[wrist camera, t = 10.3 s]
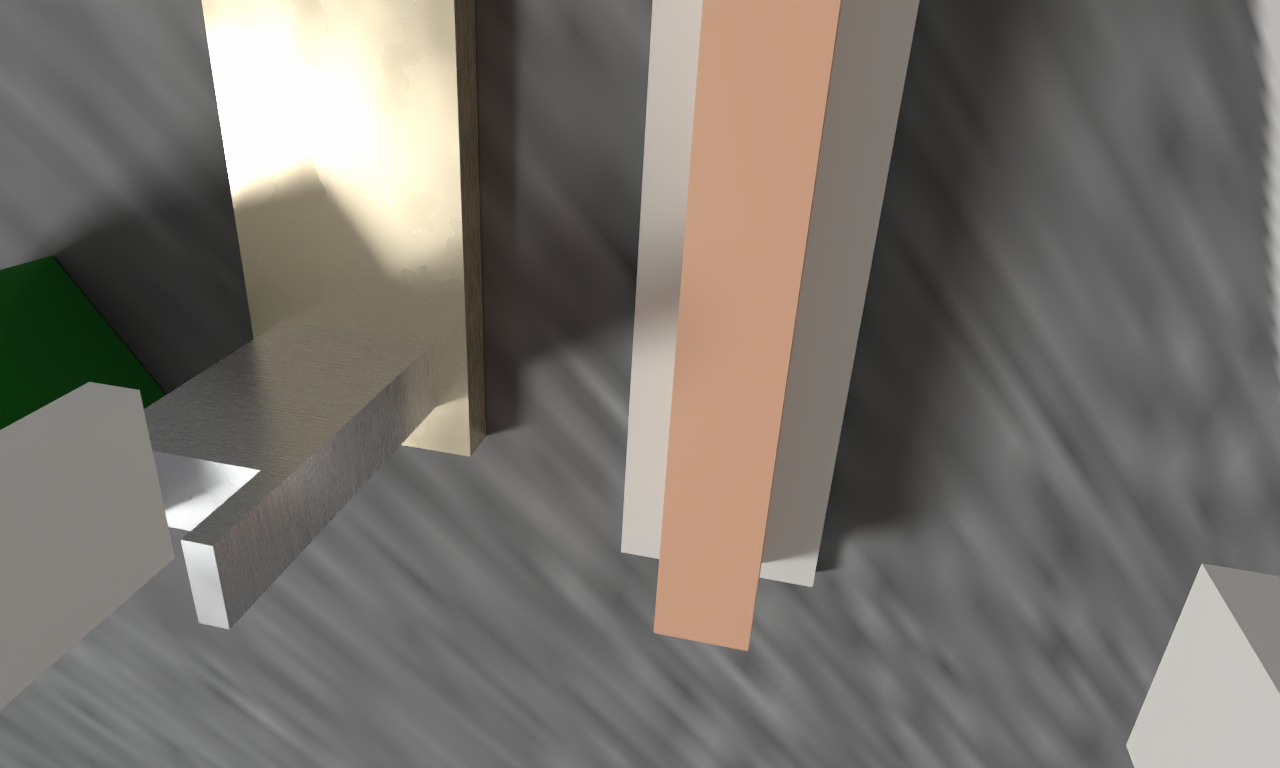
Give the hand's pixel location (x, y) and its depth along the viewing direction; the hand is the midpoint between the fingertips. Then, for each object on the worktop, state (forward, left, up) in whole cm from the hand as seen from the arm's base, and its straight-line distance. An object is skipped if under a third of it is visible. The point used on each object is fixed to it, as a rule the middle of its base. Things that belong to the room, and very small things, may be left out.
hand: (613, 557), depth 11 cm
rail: (0, 0, -17) cm, 17 cm away
